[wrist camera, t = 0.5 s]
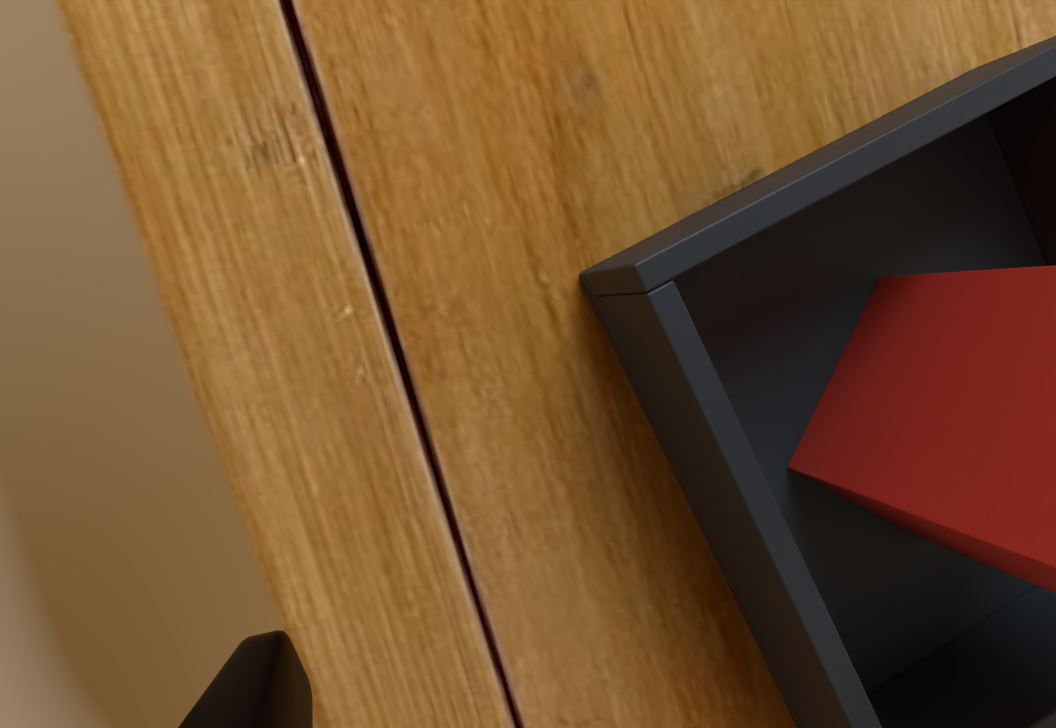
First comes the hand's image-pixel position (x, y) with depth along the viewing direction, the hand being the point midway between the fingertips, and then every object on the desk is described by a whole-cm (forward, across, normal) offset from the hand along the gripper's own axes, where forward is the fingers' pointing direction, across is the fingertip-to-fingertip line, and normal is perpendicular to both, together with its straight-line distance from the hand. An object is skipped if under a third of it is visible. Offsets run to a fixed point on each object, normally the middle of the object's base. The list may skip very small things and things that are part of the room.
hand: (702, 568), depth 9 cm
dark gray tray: (+12, -9, +8) cm, 17 cm away
